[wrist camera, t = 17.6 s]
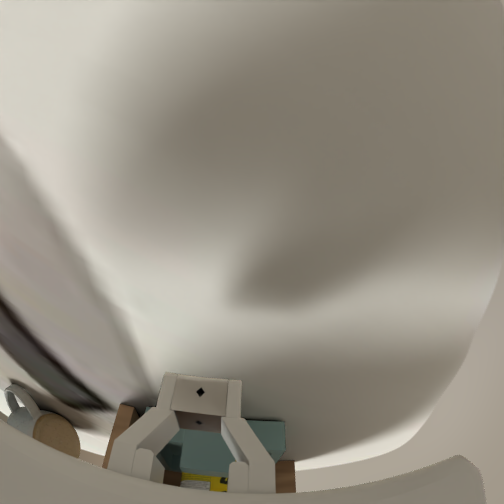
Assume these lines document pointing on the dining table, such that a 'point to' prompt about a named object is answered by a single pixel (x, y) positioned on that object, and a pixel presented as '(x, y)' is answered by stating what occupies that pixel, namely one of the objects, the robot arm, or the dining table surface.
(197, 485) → the supplement bottle
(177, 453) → the tray
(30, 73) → the dining table surface
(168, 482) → the open wooden box
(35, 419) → the ceramic mug
